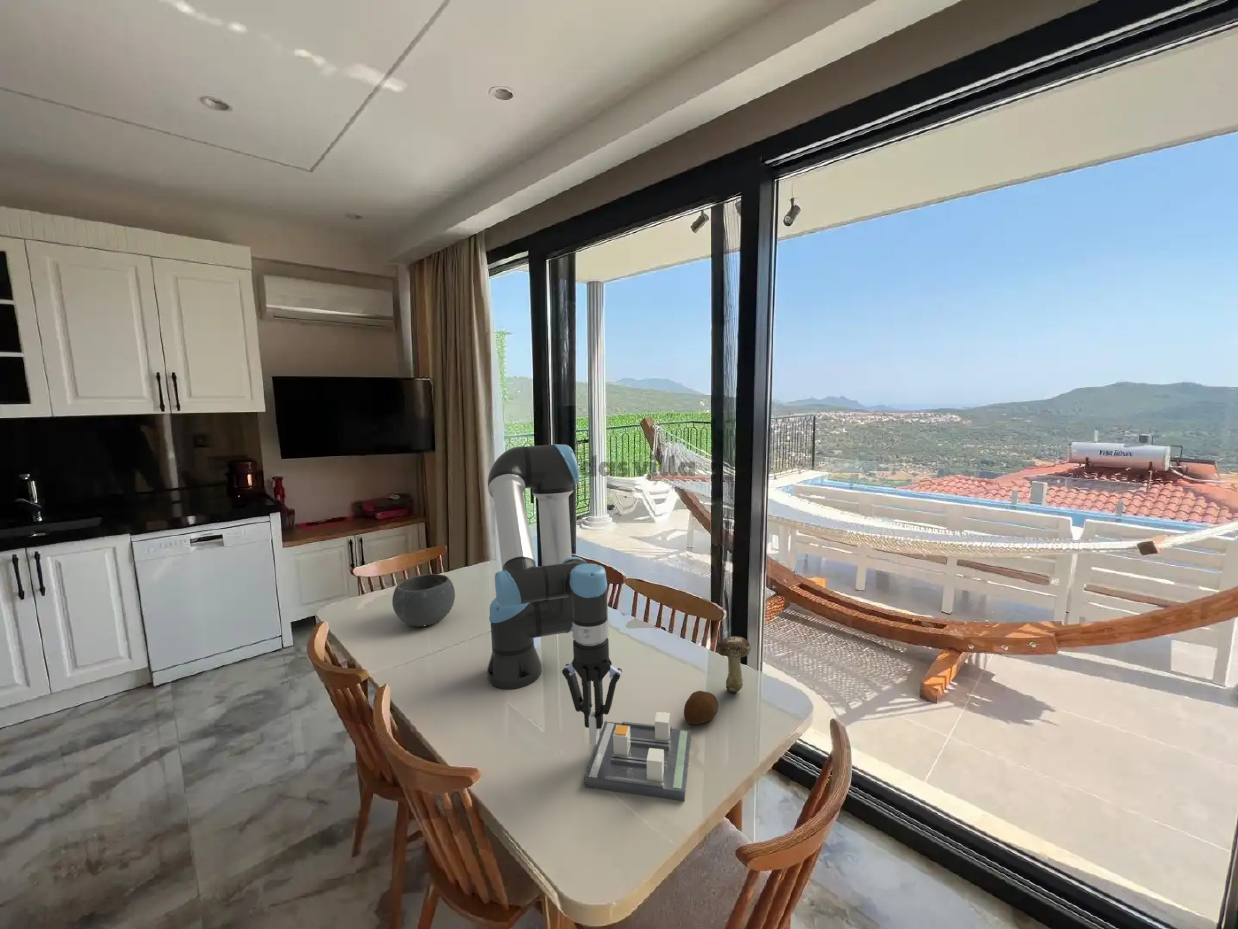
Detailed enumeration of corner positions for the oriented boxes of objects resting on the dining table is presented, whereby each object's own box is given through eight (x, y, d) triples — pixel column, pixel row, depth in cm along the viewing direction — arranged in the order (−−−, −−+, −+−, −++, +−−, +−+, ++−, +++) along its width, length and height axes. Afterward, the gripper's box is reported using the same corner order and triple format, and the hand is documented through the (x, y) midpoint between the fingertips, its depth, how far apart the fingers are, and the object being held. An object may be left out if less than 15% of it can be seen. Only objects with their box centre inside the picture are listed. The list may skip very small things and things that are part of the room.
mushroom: (730, 706, 126) (730, 650, 124) (709, 689, 134) (709, 635, 132) (759, 695, 131) (760, 640, 129) (737, 679, 138) (737, 627, 136)
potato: (726, 715, 123) (726, 688, 122) (701, 736, 116) (701, 708, 115) (703, 703, 128) (702, 677, 127) (677, 723, 121) (676, 696, 120)
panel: (584, 787, 102) (584, 775, 101) (605, 729, 119) (605, 719, 119) (684, 801, 98) (684, 788, 97) (690, 738, 115) (690, 728, 115)
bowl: (469, 617, 182) (466, 577, 180) (419, 641, 165) (416, 597, 163) (432, 605, 193) (429, 568, 191) (383, 627, 176) (379, 586, 174)
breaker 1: (655, 740, 112) (654, 721, 111) (657, 729, 115) (656, 711, 114) (668, 741, 111) (668, 723, 110) (670, 731, 114) (670, 713, 114)
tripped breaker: (613, 754, 108) (613, 734, 107) (617, 743, 111) (616, 723, 110) (627, 756, 107) (627, 735, 106) (630, 745, 110) (630, 725, 110)
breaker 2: (647, 780, 100) (646, 760, 99) (649, 768, 103) (649, 748, 103) (662, 782, 99) (661, 762, 99) (664, 769, 103) (663, 749, 102)
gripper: (555, 644, 104) (560, 748, 108) (617, 649, 102) (620, 756, 105) (566, 628, 112) (571, 726, 115) (624, 632, 109) (627, 732, 112)
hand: (594, 740), depth 110 cm, fingers closed
